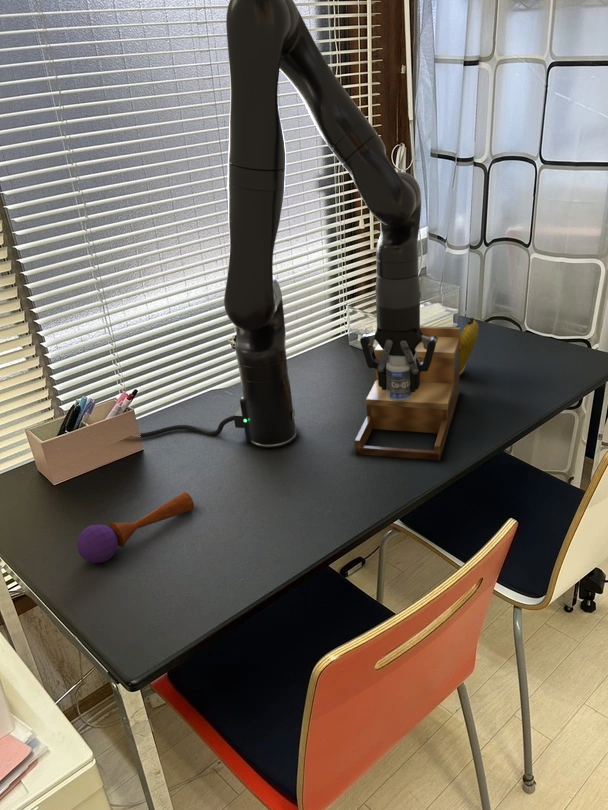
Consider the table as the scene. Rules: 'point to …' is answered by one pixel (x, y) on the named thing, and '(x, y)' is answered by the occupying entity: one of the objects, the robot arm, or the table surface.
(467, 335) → the banana bunch
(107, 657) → the table surface
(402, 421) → the stepped rack
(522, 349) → the table surface
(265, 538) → the table surface
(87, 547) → the kendama
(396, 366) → the pill bottle
